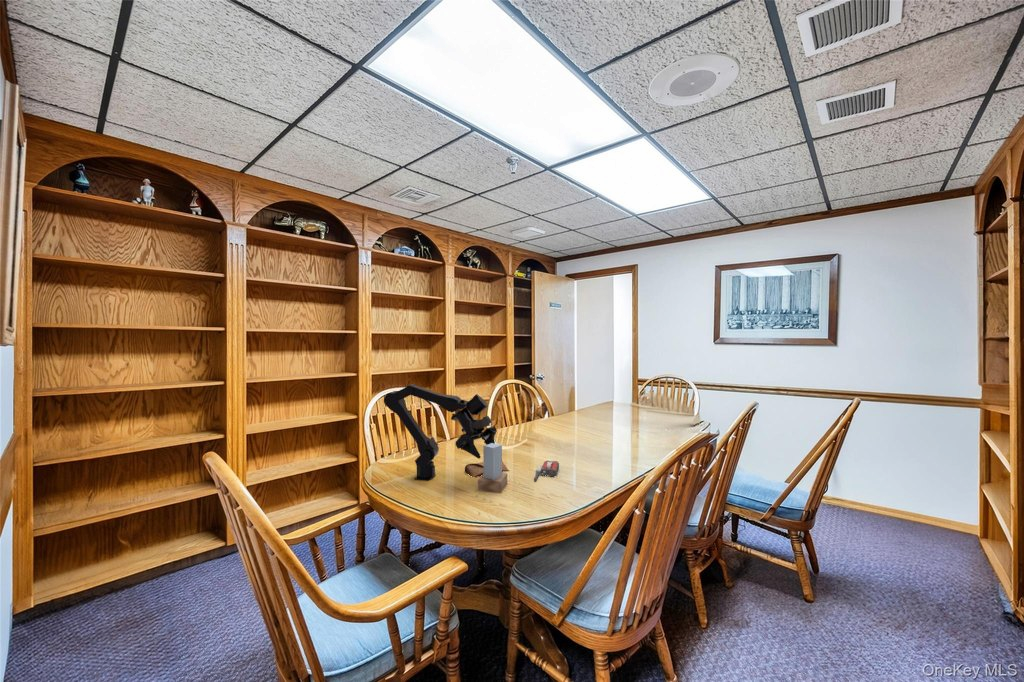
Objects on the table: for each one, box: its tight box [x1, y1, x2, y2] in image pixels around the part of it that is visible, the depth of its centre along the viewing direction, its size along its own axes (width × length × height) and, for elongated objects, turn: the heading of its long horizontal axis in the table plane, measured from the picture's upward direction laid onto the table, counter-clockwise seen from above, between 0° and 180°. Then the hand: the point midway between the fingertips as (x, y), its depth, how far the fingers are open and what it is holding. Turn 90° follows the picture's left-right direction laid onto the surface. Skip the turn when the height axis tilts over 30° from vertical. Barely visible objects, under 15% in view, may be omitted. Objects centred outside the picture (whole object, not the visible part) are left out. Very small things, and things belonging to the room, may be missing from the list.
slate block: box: [482, 442, 503, 480], centre depth 151 cm, size 5×5×12 cm
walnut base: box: [477, 472, 508, 493], centre depth 151 cm, size 9×9×4 cm
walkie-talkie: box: [533, 460, 560, 481], centre depth 165 cm, size 9×4×20 cm
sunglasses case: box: [464, 460, 510, 478], centre depth 169 cm, size 18×7×7 cm
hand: (488, 455), depth 152 cm, fingers open, 9 cm apart
